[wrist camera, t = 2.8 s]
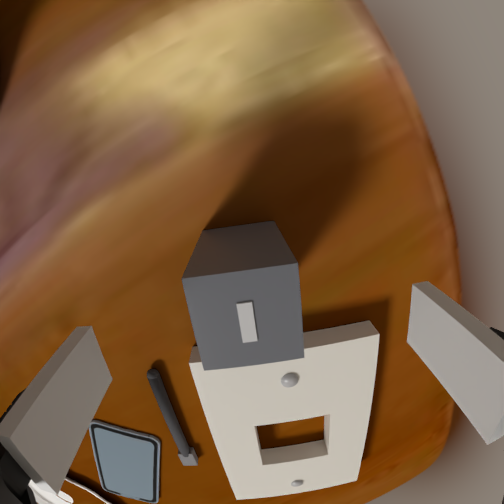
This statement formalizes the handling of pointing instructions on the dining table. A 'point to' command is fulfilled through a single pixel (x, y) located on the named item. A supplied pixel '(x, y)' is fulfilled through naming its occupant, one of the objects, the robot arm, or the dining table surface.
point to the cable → (171, 419)
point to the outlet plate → (293, 412)
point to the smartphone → (126, 461)
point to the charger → (244, 297)
